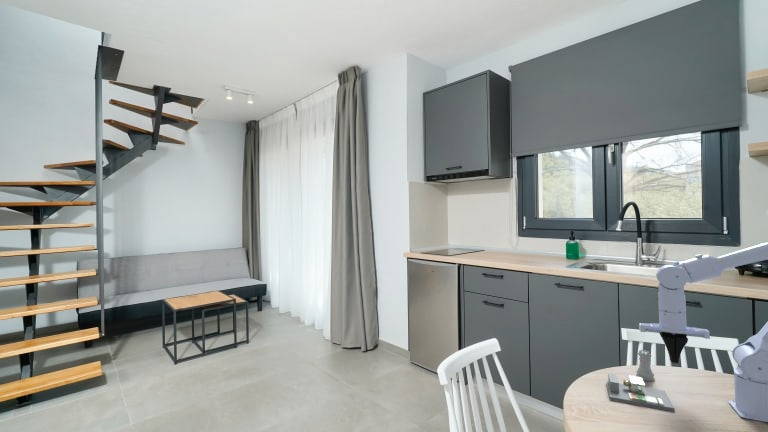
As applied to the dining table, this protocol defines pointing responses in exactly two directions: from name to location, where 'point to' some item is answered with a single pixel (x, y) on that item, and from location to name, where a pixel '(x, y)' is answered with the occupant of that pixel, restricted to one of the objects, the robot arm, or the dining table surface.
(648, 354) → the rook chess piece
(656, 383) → the dining table surface
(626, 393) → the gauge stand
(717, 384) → the dining table surface
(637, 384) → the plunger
